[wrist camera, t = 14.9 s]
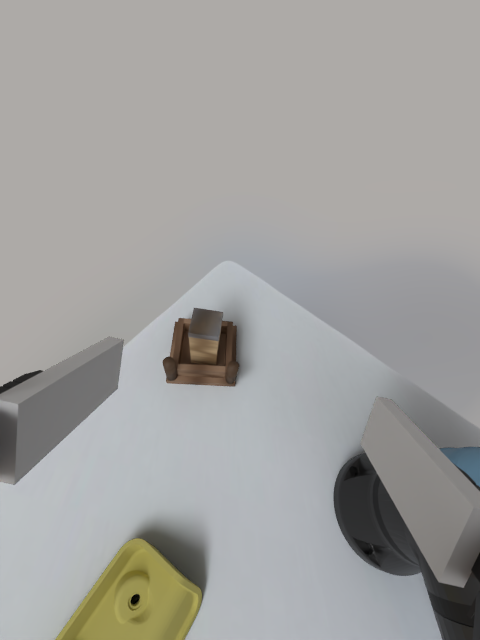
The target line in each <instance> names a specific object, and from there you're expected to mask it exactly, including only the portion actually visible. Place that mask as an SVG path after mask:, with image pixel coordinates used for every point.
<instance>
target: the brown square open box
mask: <svg viewBox="0 0 480 640" xmlns="http://www.w3.org/2000/svg"><path fill="white" fill-rule="evenodd" d="M190 323H191V319H184V318H179V320H178V322H175V327H174V333H173V340H172V346H171V353H170V357H166V358H165V359H164V360H163V366H164V369H165V373H166V376H167V378H166V382H167V383H174V384H195V385H215V386H235V380H236V376H237V372H238V368H239V364H238V362H236V331H237V326H233V322H228V321H222V324H221V334H220V343H219V350H218V356H217V362H216V366H211V365H204V364H197V363H191V356H190V344H189V337H188V332H189V327H190Z"/></svg>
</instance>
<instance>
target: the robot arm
mask: <svg viewBox="0 0 480 640" xmlns="http://www.w3.org/2000/svg"><path fill="white" fill-rule="evenodd" d="M123 343H124V340H122V339H118V338H113V337H107V338H106V339H104V340H102V341H100V342H98V343H96V344H94V345H92V346H90V347H89V348H87V349H85V350H83V351H81V352H79V353H77V354H75V355H73V356H72V357H70V358H68V359H66V360H64V361H62V362H60V363H58V364H56V365H54V366H53V367H51V368H49V369H47V370H45V371H41V370H39V371H35V372H32V373H28V374H24V375H22V376H20V377H19V378H16V379H14V380H13V382H9V383H7V384H4V385H3V387H2V386H1V387H0V482H4V483H8V484H12V485H15V484H16V483H17V482H18V481H19V480H20V479H21V478H22V477H23V476H25V475H26V474H27V473H28V472H29V471H30V470H31V469H32V468H33V467H34V466H35V465H36V464H37V463H38V462H40V461H41V460H42V459H43V458H44V457H45V456H46V455H47V454H48V453H49V452H50V451H51V450H52V449H53V448H55V447H56V446H57V445H58V444H59V443H60V442H61V441H62V440H63V439H64V438H65V437H66V436H67V435H68V434H70V433H71V432H72V431H73V430H74V429H75V428H76V427H77V426H78V425H79V424H80V423H81V422H82V421H83V420H84V419H86V418H87V417H88V416H89V415H90V414H91V413H92V412H93V411H94V410H95V409H96V408H97V407H98V406H99V405H101V404H102V403H103V402H104V401H105V400H106V399H107V398H108V397H109V396H110V395H111V394H112V393H113V392H114V391H116V390H117V389H118V381H119V373H120V366H121V358H122V350H123ZM360 444H361V445H362V447H363V449H364V451H365V454H362V455H358V456H356V457H354V458H352V459H351V460H349V461H348V462H347V463H346V464H345V465H344V466H343V468H342V469H341V471H340V472H339V474H338V477H337V479H336V483H335V488H334V508H335V513H336V517H337V521H338V524H339V526H340V529H341V531H342V533H343V535H344V537H345V539H346V540H347V542H348V543H349V545H350V546H351V548H352V549H353V550H354V551H355V552H356V553H357V554H358V555H359V556H360V557H361V558H362V559H363V560H364V561H365V562H367V563H368V564H370V565H371V566H373V567H375V568H377V569H379V570H382V571H384V572H387V573H390V574H393V575H399V576H409V575H414V574H417V573H420V572H422V576H423V579H424V582H425V585H426V588H427V591H428V594H429V598H430V601H431V604H432V608H433V611H434V614H435V617H436V620H437V623H438V627H439V630H440V633H441V636H442V639H443V640H480V447H463V448H441V449H439V448H438V447H437V446H436V445H435V444H434V443H433V442H432V441H431V440H430V439H429V438H428V437H427V436H426V435H425V434H424V433H423V432H422V431H421V430H420V429H419V428H418V427H417V426H416V425H415V423H414V422H413V421H412V420H411V419H410V418H409V417H408V416H407V415H406V414H405V413H404V412H403V411H402V410H401V409H400V408H399V407H398V406H397V405H396V404H395V403H394V402H393V401H392V400H391V399H387V398H382V397H378V396H377V397H376V399H375V402H374V405H373V408H372V411H371V414H370V417H369V420H368V422H367V425H366V428H365V431H364V434H363V437H362V440H361V443H360Z"/></svg>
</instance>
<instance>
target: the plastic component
mask: <svg viewBox="0 0 480 640" xmlns="http://www.w3.org/2000/svg"><path fill="white" fill-rule="evenodd" d="M135 594H139V595H140V599H139V601H138V602H137V603H136V604H131V603H130V601H131V598H132V596H133V595H135ZM201 601H202V592H201V590H200V588H199V587H198V586H197V585H195V584H194V583H192V582H191V581H190V580H188V579H187V578H186V577H185V576H184V575H183V574H182V573H181V572H179V571H178V570H177V569H176V568H175V567H174V566H173V565H172V564H171V563H170V562H169V561H168V560H167V559H166V558H165V557H164V556H163V555H162V554H161V553H160V552H159V551H158V550H157V549H156V548H155V547H154V546H153V545H151V544H150V543H148V542H146V541H145V540H143V539H139V538H136V539H132V540H130V541H128V542H127V543H126V544H124V545H123V546H122V547H121V549H120V550H119V551H118V553H117V554H116V556H115V557H114V558H113V560H112V561H111V562H110V564H109V565H108V567H107V568H106V569H105V571H104V572H103V574H102V575H101V576H100V578H99V579H98V581H97V582H96V583H95V585H94V586H93V588H92V589H91V590H90V592H89V593H88V595H87V596H86V597H85V599H84V600H83V602H82V603H81V604H80V606H79V607H78V609H77V610H76V611H75V613H74V614H73V616H72V617H71V618H70V620H69V621H68V623H67V624H66V625H65V627H64V628H63V630H62V631H61V632H60V634H59V635H58V637H57V638H56V639H55V640H184V639H185V637H186V635H187V633H188V631H189V629H190V627H191V626H192V624H193V622H194V620H195V618H196V616H197V614H198V611H199V608H200V605H201Z"/></svg>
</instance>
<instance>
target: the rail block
mask: <svg viewBox="0 0 480 640" xmlns="http://www.w3.org/2000/svg"><path fill="white" fill-rule="evenodd" d="M222 317H223V312H219V311H212V310H206V309H199V308H194V310H193V314H192V319H191V323H190V327H189V332H188V337H189V344H190V356H191V363H197V364H204V365H211V366H216V362H217V356H218V350H219V343H220V334H221V324H222Z"/></svg>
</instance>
